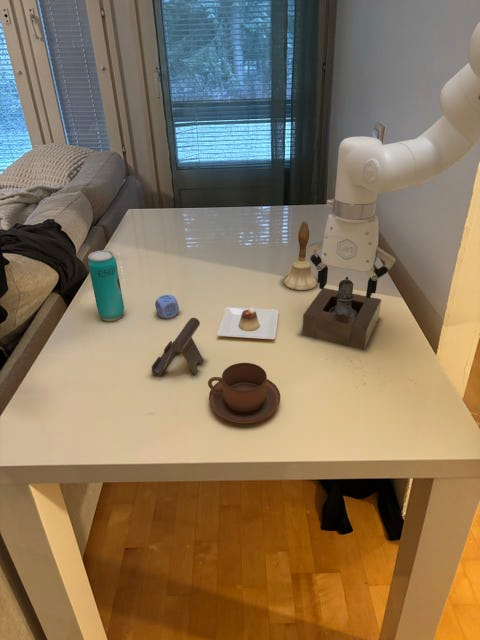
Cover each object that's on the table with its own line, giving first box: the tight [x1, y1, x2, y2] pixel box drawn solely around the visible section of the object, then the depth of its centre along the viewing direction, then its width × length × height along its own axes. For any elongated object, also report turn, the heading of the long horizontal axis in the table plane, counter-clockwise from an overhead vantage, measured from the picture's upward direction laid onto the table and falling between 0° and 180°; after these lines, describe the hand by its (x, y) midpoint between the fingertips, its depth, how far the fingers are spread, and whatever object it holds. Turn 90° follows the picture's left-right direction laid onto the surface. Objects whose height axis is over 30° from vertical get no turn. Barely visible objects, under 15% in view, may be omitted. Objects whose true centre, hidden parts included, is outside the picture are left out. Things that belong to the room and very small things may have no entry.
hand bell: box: [283, 220, 318, 291], centre depth 114 cm, size 8×8×16 cm
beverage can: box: [87, 249, 125, 322], centre depth 101 cm, size 6×6×15 cm
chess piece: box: [329, 276, 357, 318], centre depth 97 cm, size 6×6×12 cm
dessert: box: [216, 306, 280, 340], centre depth 99 cm, size 12×12×5 cm
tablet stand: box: [151, 317, 205, 377], centre depth 87 cm, size 9×8×8 cm
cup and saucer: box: [207, 362, 281, 424], centre depth 78 cm, size 12×12×6 cm
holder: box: [301, 287, 382, 350], centre depth 98 cm, size 13×13×5 cm
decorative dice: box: [154, 294, 180, 320], centre depth 105 cm, size 4×4×4 cm
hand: (345, 290), depth 95 cm, fingers open, 9 cm apart
